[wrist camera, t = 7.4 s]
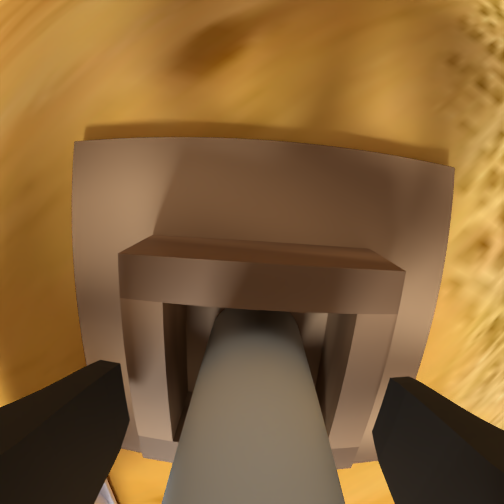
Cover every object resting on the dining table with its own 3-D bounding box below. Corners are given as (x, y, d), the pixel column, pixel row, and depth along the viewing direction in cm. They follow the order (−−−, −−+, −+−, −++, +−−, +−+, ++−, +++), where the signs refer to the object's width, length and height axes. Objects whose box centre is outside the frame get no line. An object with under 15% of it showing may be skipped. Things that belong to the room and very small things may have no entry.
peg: (296, 376, 12) (338, 619, 2) (212, 374, 12) (161, 617, 2) (302, 299, 11) (401, 572, 2) (209, 296, 11) (107, 570, 2)
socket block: (380, 452, 13) (399, 501, 10) (110, 437, 13) (85, 484, 10) (446, 167, 11) (505, 166, 7) (82, 143, 11) (25, 132, 7)
